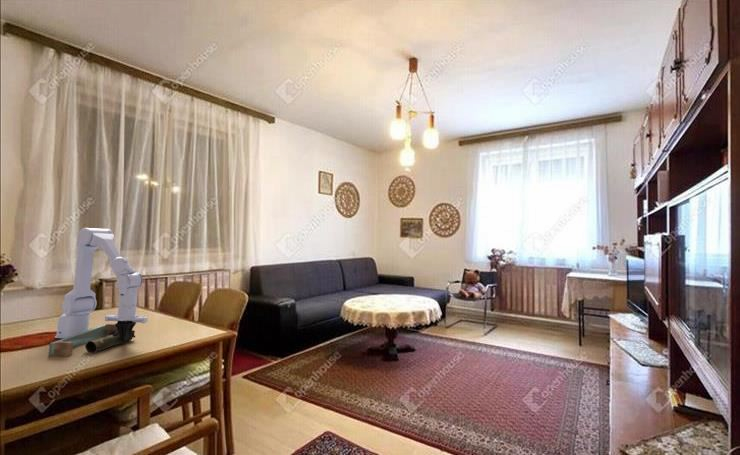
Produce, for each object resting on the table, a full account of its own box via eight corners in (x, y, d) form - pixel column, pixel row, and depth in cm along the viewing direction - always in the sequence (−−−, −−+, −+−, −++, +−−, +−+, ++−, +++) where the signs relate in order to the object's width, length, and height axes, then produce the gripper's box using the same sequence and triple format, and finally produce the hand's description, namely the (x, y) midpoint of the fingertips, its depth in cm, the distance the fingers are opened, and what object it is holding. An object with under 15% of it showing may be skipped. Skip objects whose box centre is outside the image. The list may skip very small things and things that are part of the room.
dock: (48, 355, 122) (49, 341, 122) (103, 333, 149) (104, 323, 149) (68, 356, 122) (69, 343, 122) (119, 334, 149) (120, 323, 149)
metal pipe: (96, 354, 126) (97, 338, 126) (80, 352, 127) (81, 336, 128) (137, 340, 144) (138, 326, 144) (123, 339, 145) (124, 324, 145)
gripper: (100, 305, 132) (97, 342, 132) (141, 308, 133) (137, 345, 133) (113, 302, 139) (109, 337, 139) (151, 304, 140) (148, 339, 140)
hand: (124, 340), depth 136 cm, fingers closed
